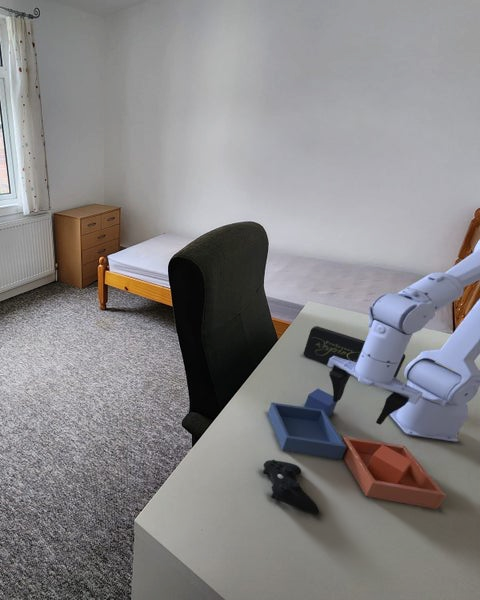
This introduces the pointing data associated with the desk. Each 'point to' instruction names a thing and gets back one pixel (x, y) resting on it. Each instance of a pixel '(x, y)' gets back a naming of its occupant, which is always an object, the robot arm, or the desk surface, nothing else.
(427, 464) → the desk surface
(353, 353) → the nameplate
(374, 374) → the robot arm
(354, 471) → the bin
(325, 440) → the blue bin
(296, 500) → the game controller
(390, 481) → the terracotta block
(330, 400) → the blue block
